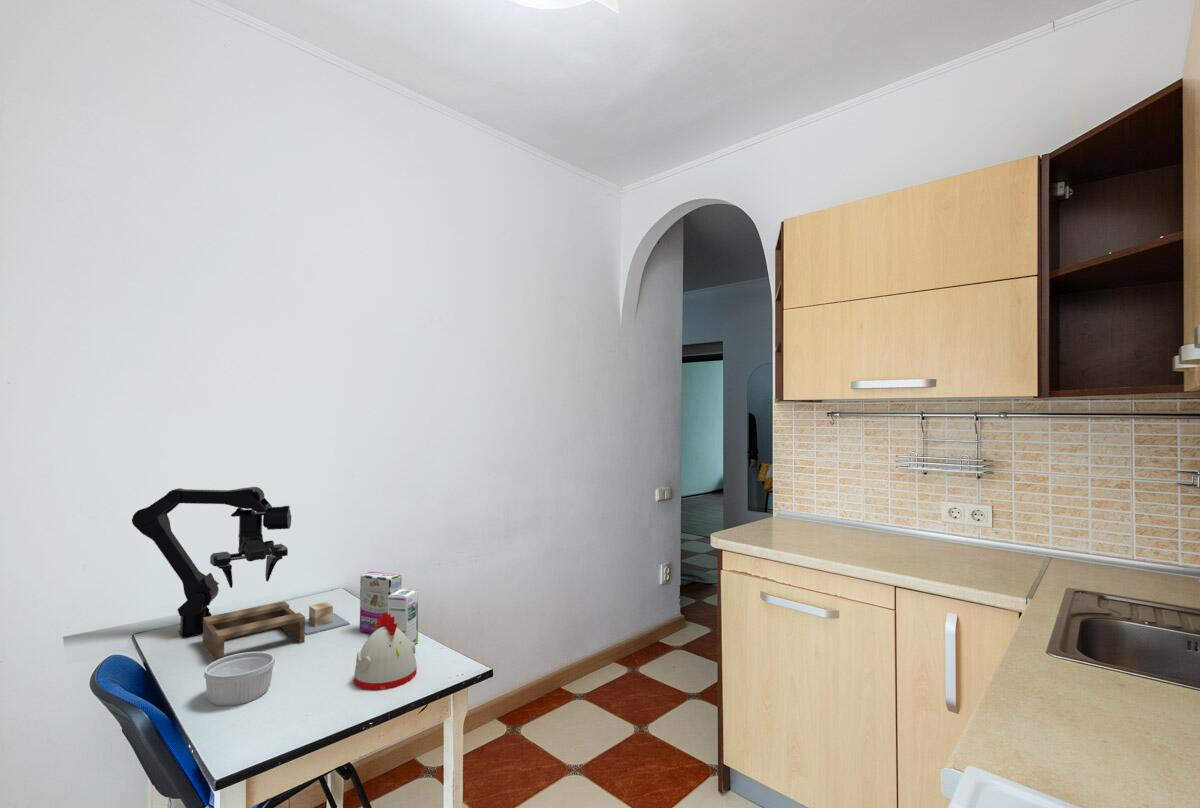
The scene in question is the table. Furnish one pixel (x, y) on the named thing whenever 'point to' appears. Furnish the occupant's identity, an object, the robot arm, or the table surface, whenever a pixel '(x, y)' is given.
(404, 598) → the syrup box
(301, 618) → the wooden rack
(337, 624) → the pad
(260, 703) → the table surface
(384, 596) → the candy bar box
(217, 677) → the ramekin
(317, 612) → the maple block
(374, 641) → the kitchen timer
